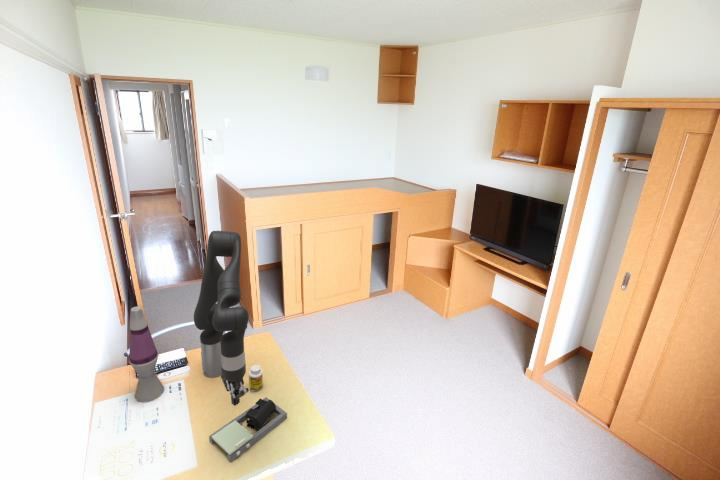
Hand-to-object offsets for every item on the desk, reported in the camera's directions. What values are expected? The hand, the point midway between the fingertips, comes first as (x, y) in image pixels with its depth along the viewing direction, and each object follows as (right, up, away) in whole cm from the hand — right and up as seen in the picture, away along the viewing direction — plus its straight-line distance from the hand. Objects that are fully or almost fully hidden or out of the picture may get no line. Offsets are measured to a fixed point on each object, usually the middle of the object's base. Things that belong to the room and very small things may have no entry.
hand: (235, 403), depth 128 cm
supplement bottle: (-2, -8, +34) cm, 35 cm away
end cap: (+4, -15, +18) cm, 23 cm away
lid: (-4, -15, +7) cm, 17 cm away
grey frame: (+1, -16, +13) cm, 20 cm away
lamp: (-45, -7, +27) cm, 53 cm away
